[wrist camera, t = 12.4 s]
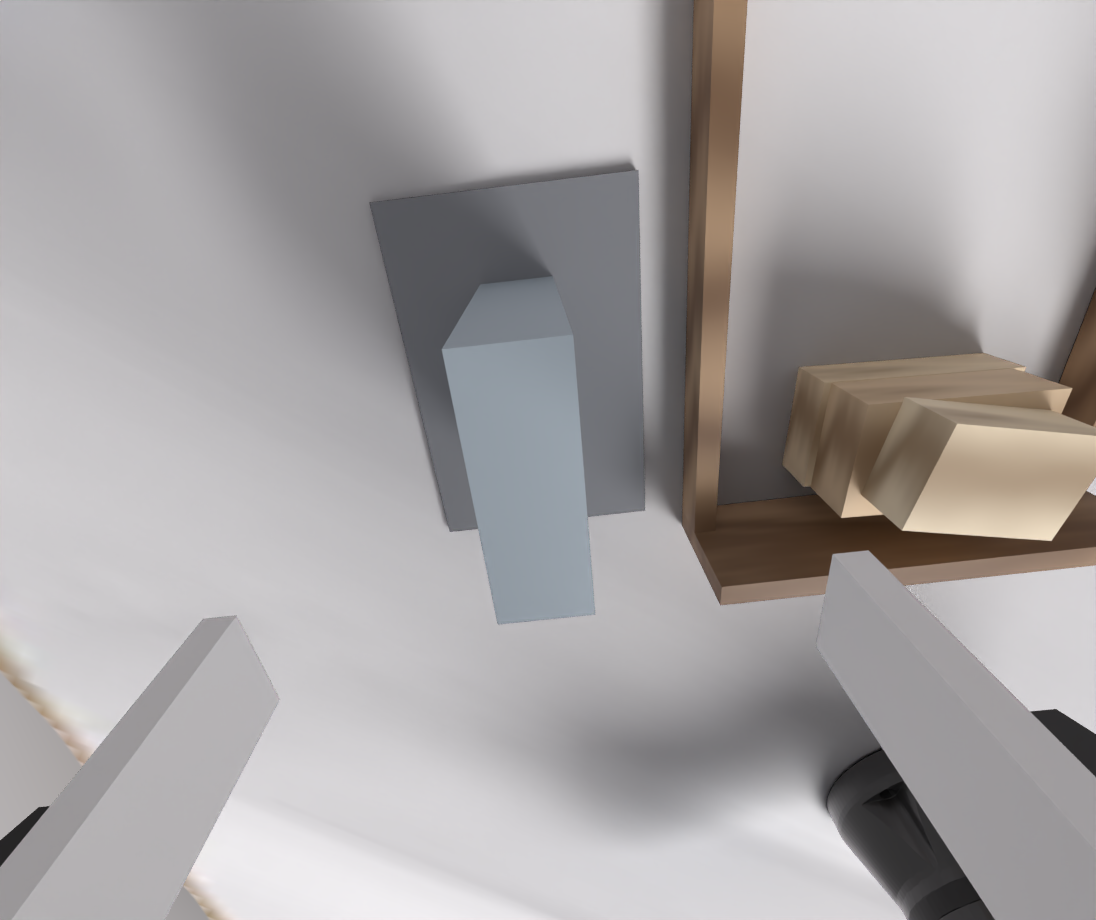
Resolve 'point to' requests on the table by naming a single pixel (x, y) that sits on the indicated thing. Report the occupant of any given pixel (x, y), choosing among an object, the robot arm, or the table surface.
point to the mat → (515, 254)
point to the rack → (734, 529)
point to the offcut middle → (873, 405)
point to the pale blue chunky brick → (523, 448)
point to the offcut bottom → (818, 380)
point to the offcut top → (981, 469)
